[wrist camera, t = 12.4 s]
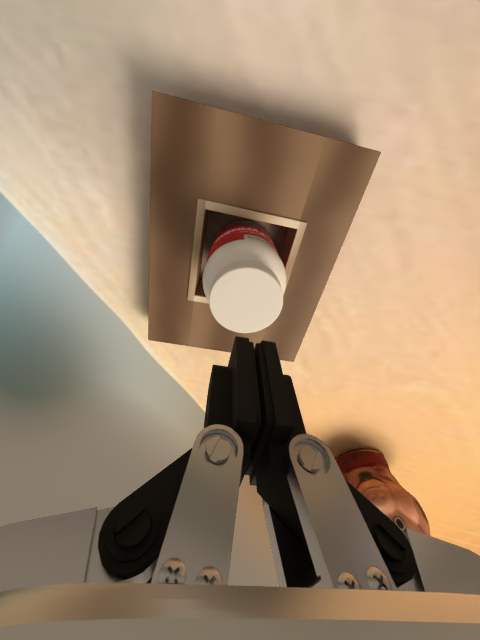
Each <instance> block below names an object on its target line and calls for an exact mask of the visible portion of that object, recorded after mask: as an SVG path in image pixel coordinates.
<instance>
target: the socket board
mask: <svg viewBox="0 0 480 640" xmlns="http://www.w3.org/2000/svg"><path fill="white" fill-rule="evenodd" d="M380 153H381V152H379V151H376V150H372V149H368V148H364V147H361V146H357V145H353V144H349V143H346V142H342V141H338V140H334V139H331V138H327V137H323V136H320V135H316V134H312V133H308V132H305V131H301V130H297V129H293V128H290V127H286V126H282V125H278V124H275V123H271V122H267V121H263V120H260V119H256V118H252V117H249V116H245V115H241V114H237V113H234V112H230V111H226V110H222V109H219V108H215V107H211V106H207V105H204V104H200V103H196V102H193V101H189V100H185V99H181V98H178V97H174V96H170V95H166V94H163V93H159V92H155V91H152V130H151V195H150V259H149V324H148V340H152V341H159V342H166V343H172V344H179V345H185V346H192V347H199V348H205V349H212V350H218V351H225V352H232V348H233V344H234V339H235V336H239V337H245V338H249V342H253V344H254V348H255V345H256V343H261V341H262V340H264V341H271V342H275V343H276V347H277V351H278V356H279V360H285V361H291V362H294V360H295V357H296V355H297V352H298V350H299V348H300V345H301V343H302V340H303V338H304V336H305V333H306V331H307V328H308V326H309V324H310V321H311V319H312V316H313V314H314V312H315V309H316V307H317V305H318V302H319V300H320V297H321V295H322V293H323V290H324V288H325V285H326V283H327V281H328V278H329V276H330V273H331V271H332V269H333V266H334V264H335V261H336V259H337V257H338V254H339V252H340V249H341V247H342V245H343V242H344V240H345V237H346V235H347V233H348V230H349V228H350V225H351V223H352V221H353V218H354V216H355V213H356V211H357V209H358V206H359V204H360V201H361V199H362V197H363V194H364V192H365V189H366V187H367V185H368V182H369V180H370V177H371V175H372V173H373V170H374V168H375V165H376V163H377V161H378V158H379V156H380ZM208 210H212V211H216V212H221V213H226V214H230V215H235V216H239V217H244V218H249V219H253V220H258V221H262V222H267V223H271V224H276V225H281V226H285V227H287V231H286V234H285V238H284V241H283V245H282V248H281V251H280V255H279V256H280V258H281V260H282V262H283V265H284V268H285V271H286V288H285V292H284V295H283V306H282V310H281V312H280V314H279V316H278V317H277V319H276V320H275V321H274V322H273V323H272V324H271V325H269V326H268V327H266V328H264V329H262V330H260V331H257V332H253V333H238V332H234V331H231V330H228V329H226V328H225V327H223V326H222V325H221V324H219V323H218V321H217V320H216V319H215V318H214V316H213V314H212V312H211V309H210V306H209V301H208V300H207V298H206V296H205V293H204V290H203V281H201V280H199V279H200V271H201V263H202V255H203V247H204V240H205V232H206V224H207V216H208Z"/></svg>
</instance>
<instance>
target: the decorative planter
mask: <svg viewBox="0 0 480 640" xmlns="http://www.w3.org/2000/svg"><path fill="white" fill-rule="evenodd" d="M336 462H337V464H338V466H339V468H340V470H341V472H342V475H343V477H344V479H345V480H346V481H348V482H349V483H350V484H351V485H352V486H353V487H354V488H356V489H357V490H358V491H359V492H360V493H361V494H362V495H363V496H365V497H366V498H367V499H368V500H369V501H370V502H371V503H373V504H374V505H375V506H376V507H377V508H378V509H379V510H380V511H382V512H383V513H384V514H385V515H386V516H387V517H388V518H389V519H391V520H392V521H393V522H394V523H395V524H396V525H397V526H398V527H399V528H400V529H401V530H404V529H405V528H408V529H411V530H414V531H417V532H420V533H422V534H425V535H428V536H430V528H429V523H428V520H427V518H426V515H425V513H424V511H423V509H422V508H421V506H420V504H419V503H418V501H417V500H416V499H415V498H414V497H413V496H412V495H411V494H410V493H409V492H407V491H406V490H405V489H404V488H403V487H402V486H401V485H400V484H399V483H398V481H397V480H396V479H395V477H394V476H393V475H392V474H391V472H390V470H389V467H388V464H387V461H386V460H385V458H384V455H383V454H382V453H380V452H378V451H375V450H359V451H354V452H350V453H347V454H344V455H342V456H340V457H339V458H337V459H336Z"/></svg>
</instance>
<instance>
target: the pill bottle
mask: <svg viewBox="0 0 480 640" xmlns="http://www.w3.org/2000/svg"><path fill="white" fill-rule="evenodd" d="M285 288H286V271H285V268H284V265H283V262H282V260H281V258H280V256H279V254H278V252H277V250H276V247H275V245H274V243H273V241H272V239H271V237H270V236H269V234H268V233H267V232H266V230H265V229H263V228H262V227H261V226H260V225H258V224H256V223H253V222H250V221H236V222H232V223H230V224H228V225H226V226H225V227H223V228H222V229H221V230H220V231H219V232H218V234H217V235H216V237H215V239H214V241H213V243H212V246H211V249H210V252H209V255H208V258H207V261H206V264H205V268H204V272H203V290H204V293H205V296H206V298H207V300H208V301H209V306H210V309H211V312H212V314H213V316H214V318H215V319H216V320H217V321H218V323H219V324H221V325H222V326H223V327H225V328H226V329H228V330H231V331H234V332H238V333H253V332H257V331H260V330H262V329H264V328H266V327H268V326H269V325H271V324H272V323H273V322H274V321H275V320H276V319H277V317H278V316H279V314H280V312H281V310H282V306H283V295H284V292H285Z"/></svg>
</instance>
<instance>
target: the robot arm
mask: <svg viewBox="0 0 480 640" xmlns="http://www.w3.org/2000/svg"><path fill="white" fill-rule="evenodd" d="M245 474H246V475H249V476H250V485H256V486H257V492H258V493H259V495H260V496H261V497H262V498H263V509H264V514H265V519H266V524H267V528H268V533H269V538H270V543H271V547H272V553H273V558H274V562H275V567H276V572H277V577H278V582H279V587H263V586H228V577H229V569H230V560H231V552H232V544H233V535H234V527H235V518H236V510H237V502H238V494H239V487H240V485H241V482H242V480H243V477H244V475H245ZM0 640H480V556H479V555H477V554H476V553H474V552H472V551H470V550H468V549H465V548H462V547H459V546H457V545H454V544H451V543H448V542H445V541H442V540H439V539H437V538H434V537H431V536H428V535H425V534H422V533H420V532H417V531H414V530H411V529H408V528H405V529H404V530H401V529H400V528H399V527H398V526H397V525H396V524H395V523H394V522H393V521H392V520H391V519H389V518H388V517H387V516H386V515H385V514H384V513H383V512H382V511H380V510H379V509H378V508H377V507H376V506H375V505H374V504H373V503H371V502H370V501H369V500H368V499H367V498H366V497H365V496H363V495H362V494H361V493H360V492H359V491H358V490H357V489H356V488H354V487H353V486H352V485H351V484H350V483H349V482H348V481H346V480H345V479H344V477H343V475H342V472H341V470H340V468H339V466H338V464H337V462H336V460H335V458H334V456H333V454H332V452H331V451H330V449H329V448H328V446H327V445H326V444H325V443H324V442H323V441H321V440H320V439H318V438H317V437H314V436H312V435H309V434H306V431H305V427H304V424H303V420H302V416H301V413H300V409H299V405H298V401H297V398H296V394H295V390H294V387H293V383H292V379H291V377H290V376H289V375H283V373H282V368H281V364H280V360H279V356H278V351H277V347H276V343H275V342H271V341H264V340H262V341H261V343H256V345H255V348H254V344H253V342H249V338H245V337H239V336H235V339H234V344H233V348H232V352H231V356H230V360H229V364H228V367H225V366H218V365H213V367H212V372H211V377H210V383H209V389H208V396H207V405H206V413H205V422H204V429H203V430H202V431H201V432H200V433H199V434H198V435H197V437H196V440H195V442H194V445H193V448H191V449H190V450H189V451H187V452H186V453H185V454H183V455H182V456H181V457H180V458H178V459H177V460H176V461H174V462H173V463H172V464H170V465H169V466H168V467H166V468H165V469H164V470H162V471H161V472H160V473H158V474H157V475H156V476H154V477H153V478H152V479H150V480H149V481H148V482H146V483H145V484H144V485H142V486H141V487H140V488H138V489H137V490H136V491H134V492H133V493H132V494H131V495H129V496H128V497H126V498H125V499H124V500H123V501H121V502H120V503H119V504H118V505H117V506H116V507H112V508H107V509H102V510H97V507H96V508H91V509H85V510H80V511H75V512H69V513H64V514H59V515H53V516H49V517H43V518H38V519H32V520H27V521H22V522H16V523H11V524H7V525H4V526H2V527H0Z"/></svg>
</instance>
